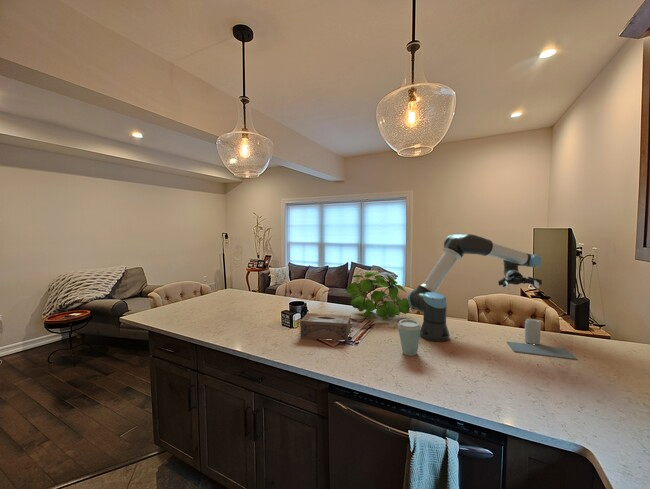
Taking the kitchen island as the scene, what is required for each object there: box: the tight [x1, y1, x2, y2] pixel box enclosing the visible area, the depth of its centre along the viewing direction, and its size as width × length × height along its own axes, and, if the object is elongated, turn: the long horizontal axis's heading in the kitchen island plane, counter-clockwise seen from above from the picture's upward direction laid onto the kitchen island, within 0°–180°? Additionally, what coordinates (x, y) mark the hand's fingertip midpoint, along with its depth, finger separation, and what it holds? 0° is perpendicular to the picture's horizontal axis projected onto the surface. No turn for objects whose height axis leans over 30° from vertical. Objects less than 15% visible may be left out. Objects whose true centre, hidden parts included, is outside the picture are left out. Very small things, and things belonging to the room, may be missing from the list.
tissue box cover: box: [299, 312, 352, 341], centre depth 151 cm, size 26×14×10 cm, turn 78°
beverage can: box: [524, 318, 542, 345], centre depth 139 cm, size 6×6×12 cm
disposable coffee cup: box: [397, 318, 422, 357], centre depth 128 cm, size 11×11×15 cm
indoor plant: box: [345, 271, 411, 319], centre depth 189 cm, size 44×42×30 cm
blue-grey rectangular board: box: [506, 341, 578, 360], centre depth 130 cm, size 24×12×1 cm, turn 69°
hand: (522, 286), depth 146 cm, fingers open, 13 cm apart
